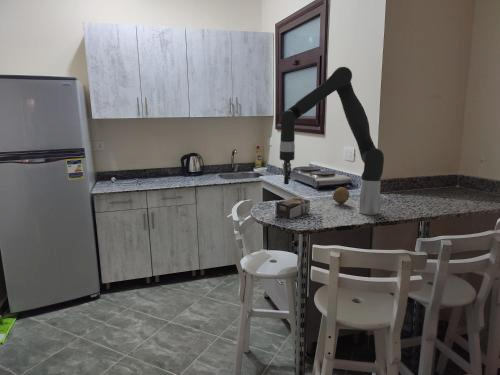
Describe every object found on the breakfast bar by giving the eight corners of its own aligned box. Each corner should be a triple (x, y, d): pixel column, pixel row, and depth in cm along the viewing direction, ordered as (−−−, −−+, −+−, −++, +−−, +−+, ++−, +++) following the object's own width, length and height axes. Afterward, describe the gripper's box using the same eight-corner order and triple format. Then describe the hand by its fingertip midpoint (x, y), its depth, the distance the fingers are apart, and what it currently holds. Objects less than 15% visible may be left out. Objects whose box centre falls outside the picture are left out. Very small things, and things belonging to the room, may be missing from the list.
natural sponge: (349, 206, 195) (350, 189, 193) (332, 206, 197) (333, 188, 195) (348, 203, 204) (349, 186, 202) (332, 202, 206) (333, 185, 204)
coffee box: (310, 199, 180) (290, 206, 169) (309, 211, 182) (289, 219, 171) (295, 195, 186) (275, 202, 175) (295, 207, 188) (275, 214, 177)
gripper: (296, 151, 175) (295, 186, 178) (292, 149, 188) (291, 181, 191) (281, 151, 174) (280, 186, 178) (278, 149, 187) (277, 181, 191)
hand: (286, 184), depth 184 cm, fingers closed
